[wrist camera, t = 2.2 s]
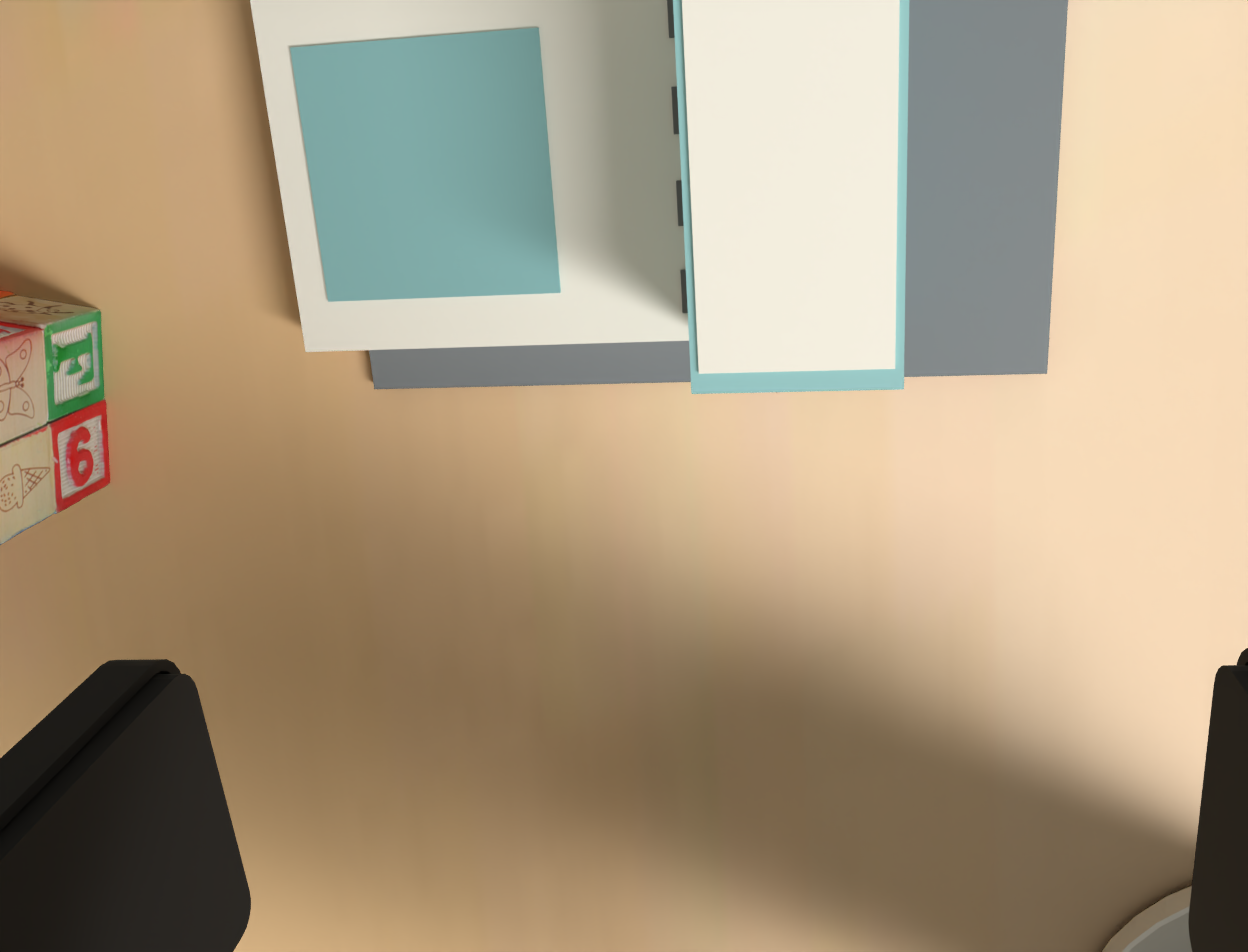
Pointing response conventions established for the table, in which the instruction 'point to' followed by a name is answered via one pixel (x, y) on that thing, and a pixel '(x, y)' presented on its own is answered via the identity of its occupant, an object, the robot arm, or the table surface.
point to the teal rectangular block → (794, 192)
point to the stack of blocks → (49, 409)
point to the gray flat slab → (617, 186)
